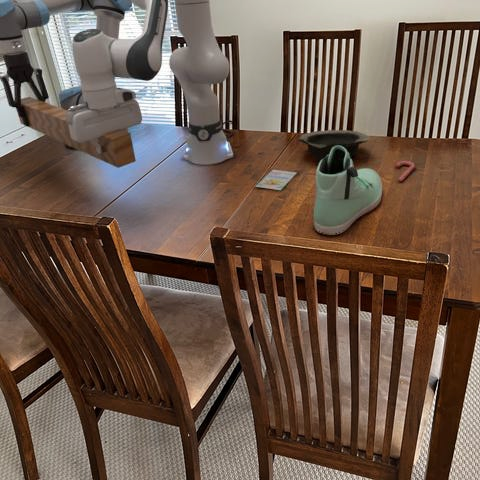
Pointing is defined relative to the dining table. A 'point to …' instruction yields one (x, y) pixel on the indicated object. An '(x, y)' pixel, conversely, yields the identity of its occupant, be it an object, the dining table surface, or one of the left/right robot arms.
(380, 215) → the dining table surface
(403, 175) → the candy cane
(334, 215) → the sneaker
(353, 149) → the stone bowl
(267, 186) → the baking ingredient package
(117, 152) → the beam
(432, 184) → the dining table surface
